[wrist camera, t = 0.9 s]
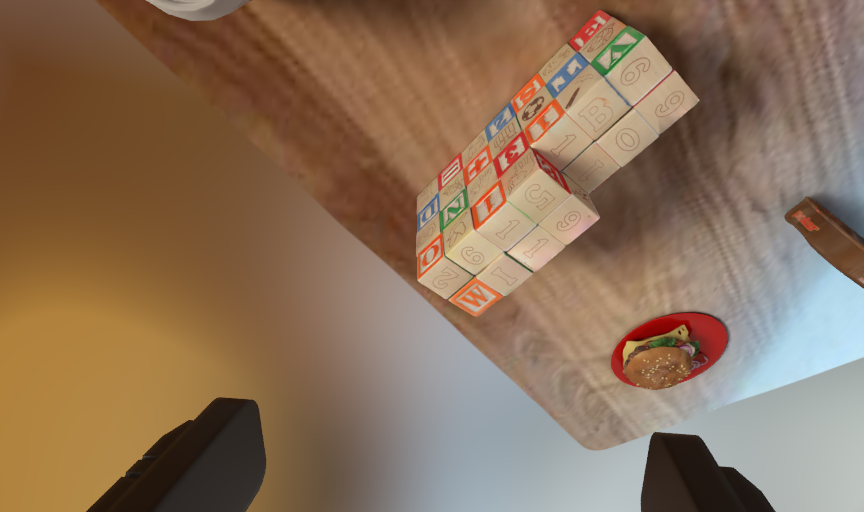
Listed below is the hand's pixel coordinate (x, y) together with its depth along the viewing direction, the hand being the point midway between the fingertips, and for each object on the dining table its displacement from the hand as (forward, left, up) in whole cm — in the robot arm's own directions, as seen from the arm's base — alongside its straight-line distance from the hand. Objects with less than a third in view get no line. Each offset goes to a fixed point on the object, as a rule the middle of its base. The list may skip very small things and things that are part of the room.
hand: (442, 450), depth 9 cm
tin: (+38, +23, -33) cm, 55 cm away
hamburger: (+47, +4, -33) cm, 58 cm away
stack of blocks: (+11, +3, -33) cm, 35 cm away
